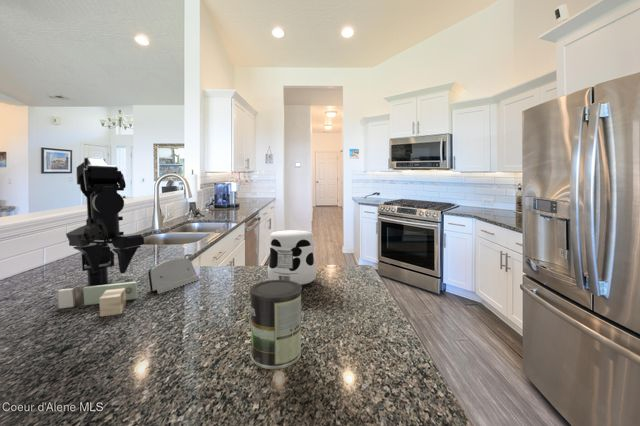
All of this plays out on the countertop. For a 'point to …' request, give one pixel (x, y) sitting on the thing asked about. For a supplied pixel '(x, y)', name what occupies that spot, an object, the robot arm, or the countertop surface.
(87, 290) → the door
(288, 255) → the milk container
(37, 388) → the countertop surface
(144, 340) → the countertop surface
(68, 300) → the wall stub
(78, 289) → the gate post
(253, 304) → the coffee can
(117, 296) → the block
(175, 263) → the grey curved upright block
